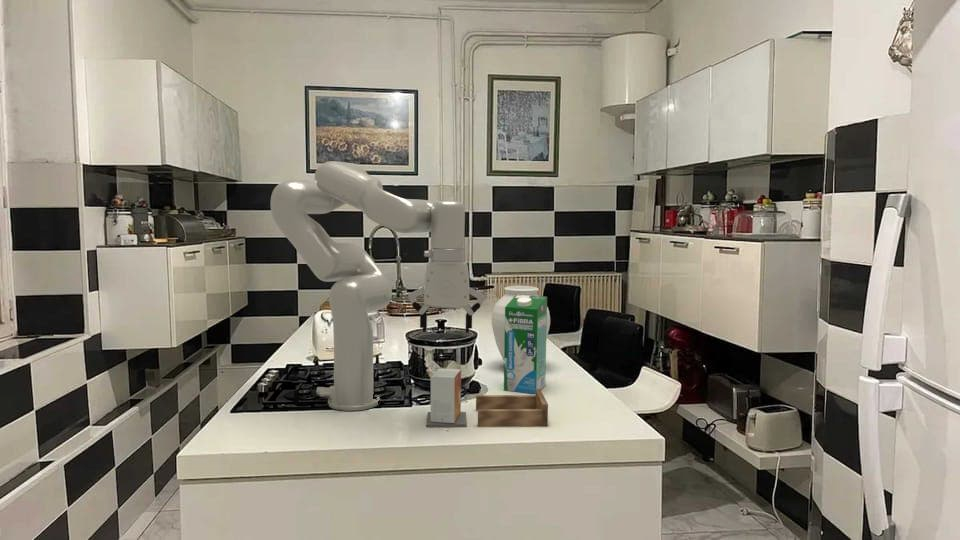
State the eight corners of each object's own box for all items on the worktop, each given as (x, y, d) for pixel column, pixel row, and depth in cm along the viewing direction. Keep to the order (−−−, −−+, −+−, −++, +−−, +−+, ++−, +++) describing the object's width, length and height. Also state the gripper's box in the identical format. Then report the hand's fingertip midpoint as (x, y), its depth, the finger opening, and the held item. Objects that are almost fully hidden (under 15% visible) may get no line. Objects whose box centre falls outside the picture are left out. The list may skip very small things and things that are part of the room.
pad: (426, 427, 143) (426, 424, 143) (427, 414, 152) (427, 411, 152) (466, 426, 143) (466, 424, 143) (465, 414, 152) (465, 411, 152)
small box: (454, 424, 143) (454, 377, 142) (429, 422, 144) (430, 376, 143) (461, 413, 151) (461, 369, 150) (438, 411, 152) (438, 367, 151)
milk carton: (503, 390, 173) (504, 298, 170) (514, 382, 181) (515, 294, 179) (535, 394, 169) (537, 300, 167) (545, 385, 178) (547, 296, 175)
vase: (559, 366, 200) (560, 286, 198) (532, 378, 185) (533, 292, 183) (509, 359, 209) (510, 282, 207) (480, 370, 194) (480, 288, 192)
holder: (477, 426, 143) (478, 404, 143) (475, 409, 156) (476, 389, 155) (547, 426, 144) (547, 404, 144) (540, 409, 156) (540, 389, 156)
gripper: (407, 256, 140) (406, 334, 142) (486, 258, 141) (484, 335, 143) (409, 254, 148) (409, 327, 150) (485, 255, 148) (483, 329, 150)
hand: (446, 331), depth 146 cm, fingers open, 9 cm apart
